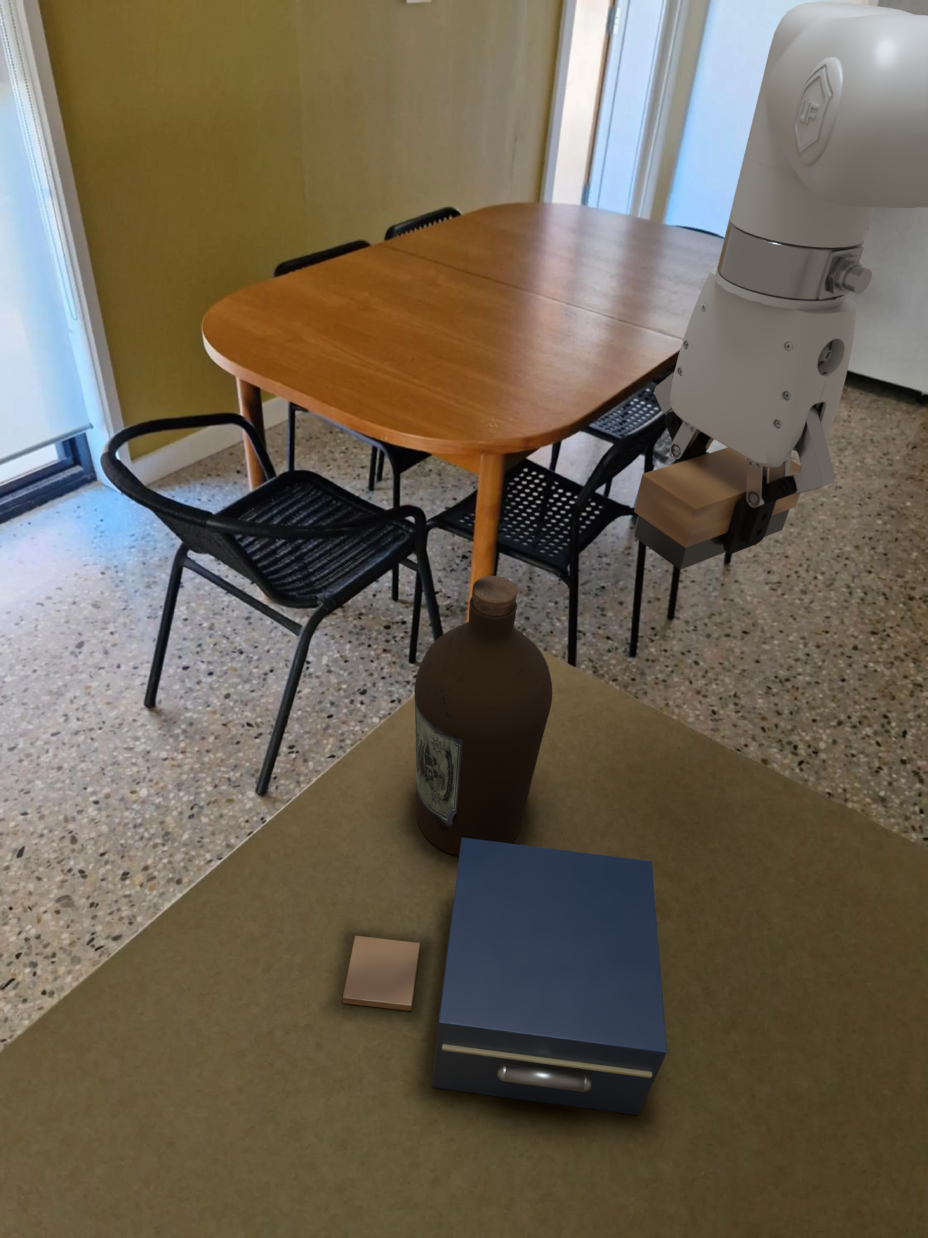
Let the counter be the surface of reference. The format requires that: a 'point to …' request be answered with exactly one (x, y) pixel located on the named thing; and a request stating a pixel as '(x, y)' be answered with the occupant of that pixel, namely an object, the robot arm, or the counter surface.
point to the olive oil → (479, 723)
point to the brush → (697, 506)
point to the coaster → (382, 973)
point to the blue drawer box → (552, 979)
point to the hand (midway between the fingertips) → (711, 524)
